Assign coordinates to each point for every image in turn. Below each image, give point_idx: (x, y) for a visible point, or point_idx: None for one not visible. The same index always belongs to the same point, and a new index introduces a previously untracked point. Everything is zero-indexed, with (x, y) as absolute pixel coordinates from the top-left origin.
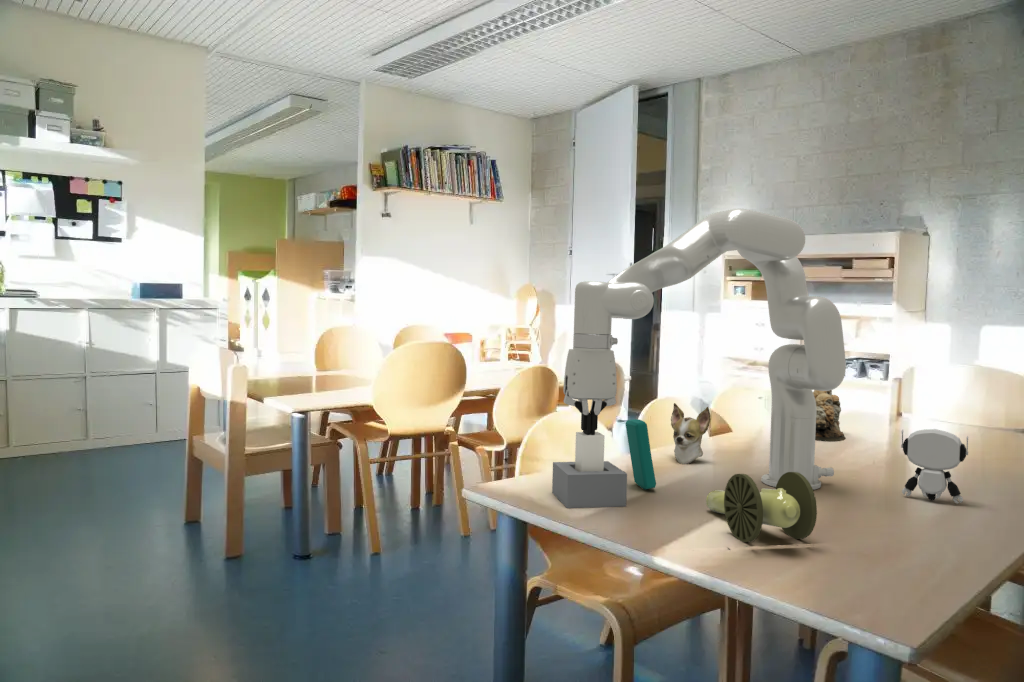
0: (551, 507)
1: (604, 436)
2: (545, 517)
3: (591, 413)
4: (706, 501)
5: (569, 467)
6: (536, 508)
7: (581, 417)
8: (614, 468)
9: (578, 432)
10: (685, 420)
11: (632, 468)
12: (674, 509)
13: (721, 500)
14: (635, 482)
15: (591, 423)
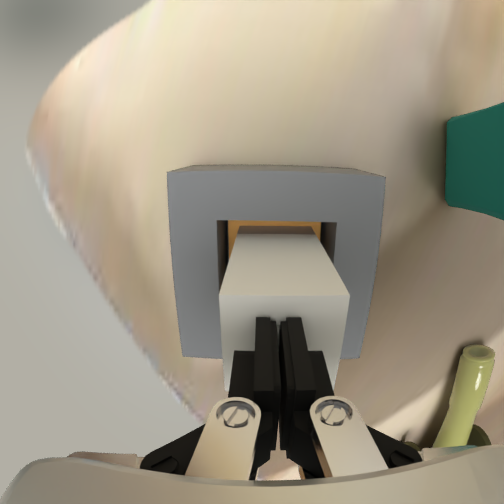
0: (166, 298)
1: (333, 386)
2: (147, 357)
3: (290, 442)
4: (465, 356)
5: (207, 266)
6: (134, 300)
7: (229, 395)
8: (356, 297)
9: (229, 311)
10: None
11: (462, 118)
12: (419, 336)
13: (454, 406)
14: (447, 129)
15: (279, 415)
